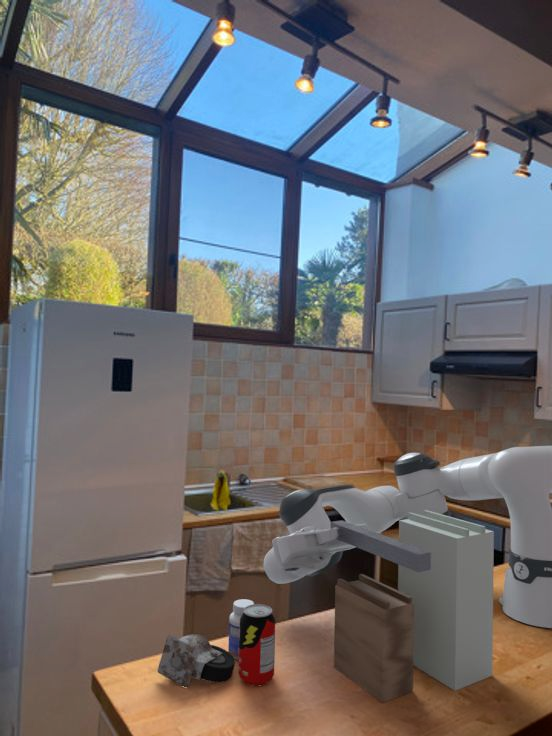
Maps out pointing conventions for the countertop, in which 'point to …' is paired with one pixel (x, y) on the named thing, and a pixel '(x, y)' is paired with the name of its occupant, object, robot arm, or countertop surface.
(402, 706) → the countertop surface
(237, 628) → the pill bottle
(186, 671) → the caster wheel
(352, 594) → the chassis block
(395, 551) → the bar
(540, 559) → the robot arm
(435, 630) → the stand
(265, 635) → the beverage can
